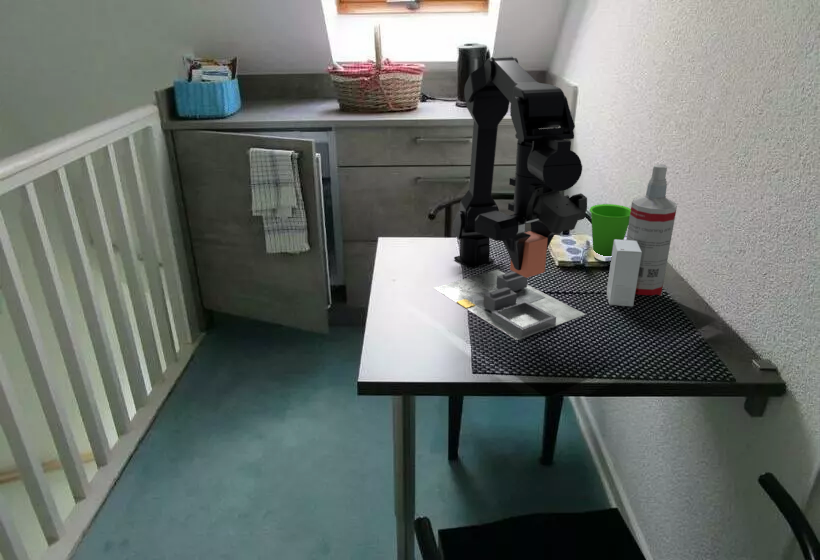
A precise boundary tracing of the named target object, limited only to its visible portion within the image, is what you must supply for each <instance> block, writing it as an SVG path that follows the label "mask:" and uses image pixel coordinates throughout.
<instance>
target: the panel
mask: <svg viewBox="0 0 820 560" xmlns="http://www.w3.org/2000/svg"><path fill="white" fill-rule="evenodd" d="M502 274H506V273H505V272H503V271H501V270H500V269H494V270H490V271H487V272H484V273H479V274H476V275H474V276H470V277H467V278H462V279H461V280H456V281H453V282H450V283H446V284H444V285H440V286H436V287H433V290H436V291H437V292H439V293H440V294H441V295H443V296H445V297H447V298H448V299H449V300H452V301H454V302H455V304H457V305H459V306H461V307H462V308H464V309H466V310H467V311H469V312H470V313H472V314H474V315H476V316H477V317H478V318H480V319H481V320H484V321H485V322H486V323H488V324H490V325H492V326H493V328H496V329H498V330H500V331H501V332H502V333H504V334H506V335H507V336H508V337H510V338H513V339H514V340H515V341H519V340H522V339H524V338H528V337H529V336H532V335H535V334H537V333H541V332H543V331H545V330H548V329H551V328H553V327H556V326H559V325H561V324H565V323H567V322H570V321H573V320H575V319H577V318H581V317H583V316H586V313H584V312H582V311H580V310H578V309H576V308H574V307H572V306H570V305H568V304H566V303H565V302H562V301H561V300H558V299H556V298H555V297H553V296H551V295H548V294H547V293H544V292H543V291H541V290H539V289H537V288H535V287H533V286H531V285H529V284H527V287H526V288H523V289H520V290H517V291H514V292H515V293H517V295H516V304H513V305H510V306H507V307H504V308H501V309H498V310H495V311H492V312H491V311H490V310H488V309H486V308H485V307H483V306H484V294H487V293H490V292H493V291H496V290H499V289H497V288H496V287H497V276H499V275H502Z"/></svg>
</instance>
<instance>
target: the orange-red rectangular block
mask: <svg viewBox="0 0 820 560" xmlns="http://www.w3.org/2000/svg"><path fill="white" fill-rule="evenodd" d="M525 233H527V234H529V235H531V236H530V237H529V238H528V239H527V240H526V241H525V243H524V252H523V261H522V267H521V270H517V269H515V268H514V265H513V263H512V261H511V260H510V266H509V270H510V271H511V272H512V271H514V272H516V273H518V274H520V275H522V276H524V277H526V278H527V279H528V278H531V277H534V276H537V275H539V274H543V273H546V264H547V251H548V249H547V241H548V238H547V237H544V236H542V235H539V234H537V233H534V232H532V231H531V230H528V231H525Z"/></svg>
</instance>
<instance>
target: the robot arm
mask: <svg viewBox="0 0 820 560" xmlns="http://www.w3.org/2000/svg"><path fill="white" fill-rule="evenodd" d="M463 90H464V92H463V93H464V100H465V102H466V108H467V110H468V112H469V114H470V116H471V119H472V121H473V125H472V126H473V127H472V128H473V129H472V142H471V154H470V155H471V156H470V158H471V159H470V170H469V184H468V185H469V186H468V190H467V191H466V192H465V195H463V197H462V198H461V200H460V202H459V203H460V204H459V210H458V211H457V213H456V215H455V217H454V220H453V222H452V230H453V234H454V236H455V237H456V238H457V239H458V240H459V255H456V256H454V257H453V258H454V259H453V260H454V261H457V262H459V263H460V264H462V265H464V266H465V267H468V268H470V269H475V268H477V267H482V266H485V265H488V264H492V263H494V262H495V259H494V258H491V257H490V255H491V254H490V251H491V244H490V239H491V240H493V241H496V242H503V245H504V247H505V248H506V251H507V254H508V256H509V257H510V262H511V261H512V263H513V265H514V268H515V269H517V270H521V267H522V261H523V252H524V243H525V241H526V240H527V239H528V238H529V237H530V236H531V235H529V234H527V233H525V232H526V225H527V224H530V231H532V232H534V233H537V234H539V235H542V236H544V237H547V238H548V241H547V250H548V248H549V246H550V244H551V243H552V240H553V238H554V237H555V235H556V234H557V235H558V234H562V232H566V231H573V230H574V229H575V228H576V225H577V223H578V222H579V221H582V220H584V219H586V217H587V215H586V212H587V210H588V197H587V196H585V195H584V194H583V193H576V194H573V195H571V196H570V195H568V194H567V195H562V194H561V193H560V192H562V191H567V190H569V189H571V188H573V187H574V185H576V184H577V182H578V181H579V180H580V178H581V176H582V173H583V164H582V160H581V158H580V157H579V155H578V154H577V153H576V152H575V151H573V150H571V147H572V142H571V140H574V138H575V133H574V129H575V128H576V125H575V122H574V119H573V115H572V112H571V109H570V106H569V102H568V98H567V96H566V95H565V93H564V91H563V90H562V89H561V88H560V87H558V86H556V85H554V84H549V83H541V82H538V81H537V80H536V79H534V77H532V76H531V74H530V73H528V72H527V71H526V69H524V68H523V67H522V66H521V64H520V63H519V60H518V58H517V57H513V56H512V55H511V56H510V55H509V56H491V57H490V58H487V59H486V61H485V62H484V65H482V66H480V67H478V68H477V69H476V70H473V72H471V73H469V76H468V78H467V80H466V82H465V84H464V89H463ZM509 109H510V118H511V120H512V124H513V128H514V130H515V132H516V133H515V138H516V139H517V143H516V160H515V174H514V177H510V178H509V186H513V187H514V193H513V195H514V196H513V202H509V203H507V204H508V206H507V210H508V211H510V212H511V211H512V212H513V214H506V213H504V212H502V211H500V209H499V207H498V205H497V203H496V201H495V199H494V198H493V196H492V195H493V194H492V192H493V184H494V183H493V181H494V180H493V179H494V171H495V162H496V161H495V159H496V149H497V140H498V139H497V138H498V130H499V129H498V128H499V125H500V123H501V122H502V120H503V119H504V117H505V116H506V115H507V113H509Z"/></svg>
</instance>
